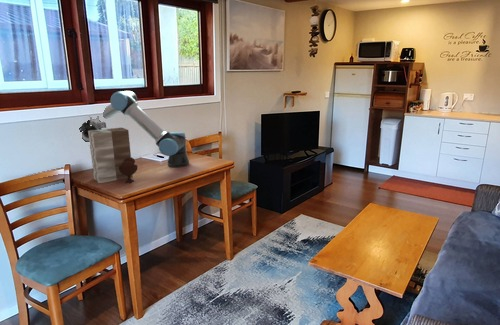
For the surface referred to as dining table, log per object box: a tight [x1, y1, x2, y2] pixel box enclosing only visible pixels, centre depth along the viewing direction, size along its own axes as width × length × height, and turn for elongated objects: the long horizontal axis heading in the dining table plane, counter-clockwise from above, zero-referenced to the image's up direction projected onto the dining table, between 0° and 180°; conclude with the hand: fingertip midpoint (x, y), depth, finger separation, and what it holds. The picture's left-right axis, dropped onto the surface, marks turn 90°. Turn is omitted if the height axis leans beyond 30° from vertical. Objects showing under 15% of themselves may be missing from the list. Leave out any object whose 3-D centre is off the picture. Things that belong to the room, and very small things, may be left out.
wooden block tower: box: [88, 127, 134, 184], centre depth 210 cm, size 12×20×30 cm, turn 128°
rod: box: [91, 119, 107, 129], centre depth 206 cm, size 20×5×3 cm, turn 38°
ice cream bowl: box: [119, 156, 138, 184], centre depth 205 cm, size 11×11×15 cm
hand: (95, 118), depth 207 cm, fingers closed on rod, 3 cm apart
